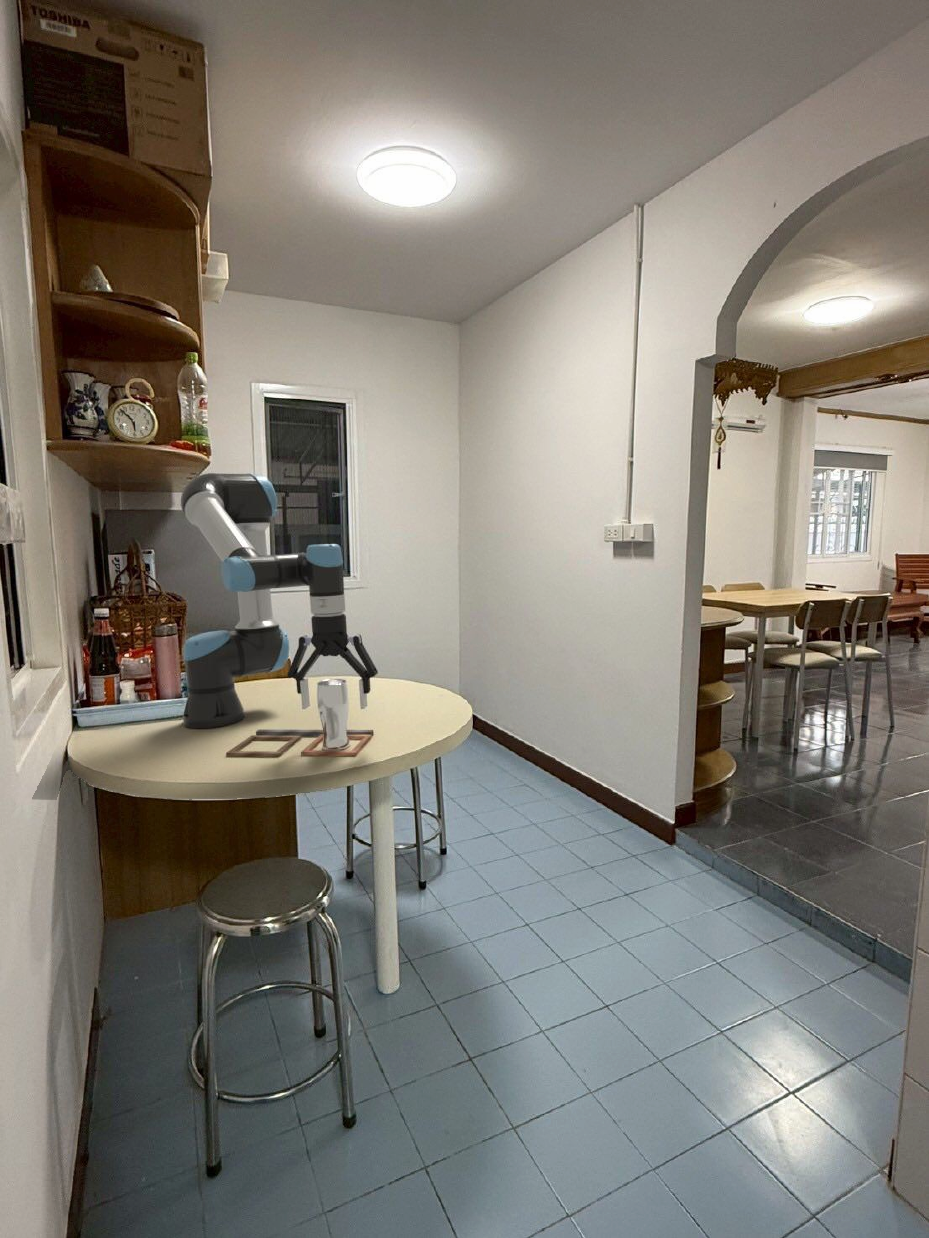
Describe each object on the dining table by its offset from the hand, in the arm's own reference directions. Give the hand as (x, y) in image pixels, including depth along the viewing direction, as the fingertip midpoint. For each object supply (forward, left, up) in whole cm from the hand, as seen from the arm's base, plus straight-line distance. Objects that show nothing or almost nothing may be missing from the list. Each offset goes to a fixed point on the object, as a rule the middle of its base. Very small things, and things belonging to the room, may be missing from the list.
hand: (334, 707), depth 148 cm
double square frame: (-8, +1, -9) cm, 12 cm away
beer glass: (0, 0, -9) cm, 9 cm away
